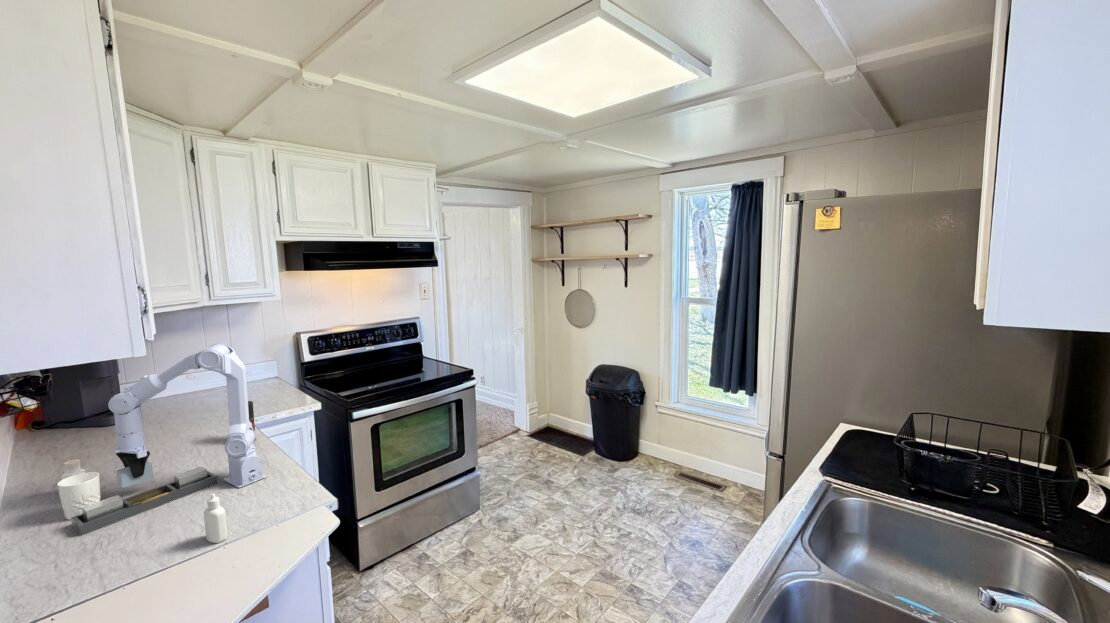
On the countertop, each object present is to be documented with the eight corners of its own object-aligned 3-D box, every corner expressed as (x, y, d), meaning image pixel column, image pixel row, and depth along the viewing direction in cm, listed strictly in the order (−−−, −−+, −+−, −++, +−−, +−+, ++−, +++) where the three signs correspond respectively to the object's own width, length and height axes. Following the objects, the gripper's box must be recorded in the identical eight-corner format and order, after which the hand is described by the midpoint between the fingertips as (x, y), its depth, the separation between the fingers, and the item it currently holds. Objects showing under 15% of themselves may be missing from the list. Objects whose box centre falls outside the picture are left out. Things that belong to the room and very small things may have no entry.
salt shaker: (71, 489, 135) (67, 459, 134) (88, 487, 137) (84, 457, 136) (62, 496, 132) (58, 465, 130) (80, 493, 133) (76, 463, 132)
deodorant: (246, 445, 167) (243, 406, 165) (233, 443, 169) (229, 405, 167) (259, 439, 173) (256, 401, 171) (246, 437, 174) (243, 400, 172)
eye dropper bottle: (227, 529, 117) (223, 486, 115) (227, 540, 112) (223, 496, 111) (206, 535, 114) (201, 492, 113) (205, 547, 110) (201, 502, 108)
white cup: (101, 501, 129) (97, 469, 128) (105, 511, 124) (100, 478, 123) (61, 513, 123) (56, 479, 122) (63, 524, 118) (58, 489, 117)
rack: (217, 483, 140) (216, 468, 139) (81, 535, 114) (78, 516, 113) (206, 477, 143) (205, 462, 143) (72, 526, 117) (69, 508, 117)
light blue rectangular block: (153, 477, 135) (151, 463, 134) (122, 488, 129) (120, 473, 128) (148, 474, 137) (147, 460, 136) (118, 484, 131) (116, 470, 130)
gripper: (102, 430, 131) (108, 474, 133) (121, 441, 124) (127, 487, 126) (134, 422, 137) (139, 464, 139) (153, 432, 130) (158, 476, 132)
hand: (135, 474), depth 133 cm, fingers closed on light blue rectangular block, 3 cm apart
